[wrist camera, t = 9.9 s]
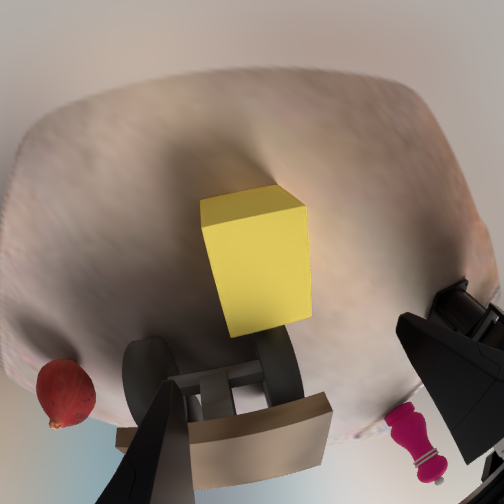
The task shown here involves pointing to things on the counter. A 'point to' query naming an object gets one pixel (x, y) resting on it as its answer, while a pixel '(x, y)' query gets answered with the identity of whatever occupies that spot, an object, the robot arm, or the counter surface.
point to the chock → (258, 257)
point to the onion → (65, 393)
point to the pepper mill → (416, 442)
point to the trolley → (234, 411)
